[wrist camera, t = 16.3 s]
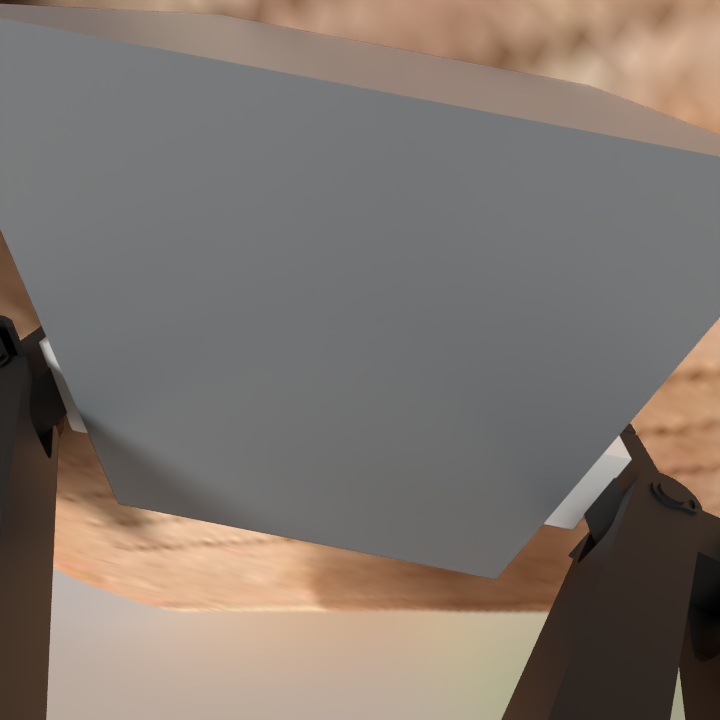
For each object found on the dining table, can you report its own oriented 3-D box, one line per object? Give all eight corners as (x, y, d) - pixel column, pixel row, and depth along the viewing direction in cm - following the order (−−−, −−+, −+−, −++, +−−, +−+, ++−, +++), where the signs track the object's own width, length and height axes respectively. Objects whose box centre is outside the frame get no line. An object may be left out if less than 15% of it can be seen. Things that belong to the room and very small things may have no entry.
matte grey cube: (589, 85, 11) (837, 179, 4) (470, 366, 18) (495, 579, 11) (219, 14, 11) (-100, -2, 4) (236, 320, 18) (118, 503, 11)
